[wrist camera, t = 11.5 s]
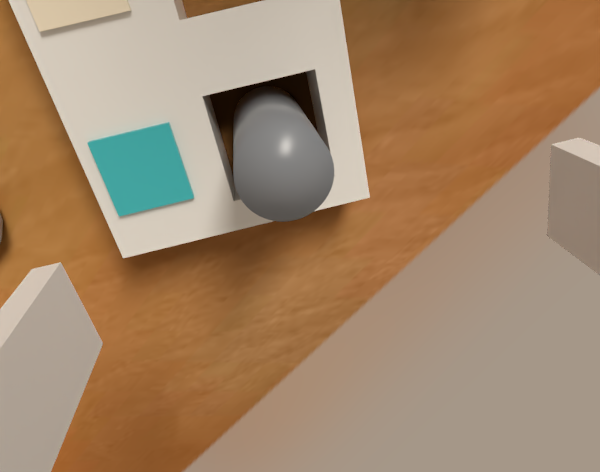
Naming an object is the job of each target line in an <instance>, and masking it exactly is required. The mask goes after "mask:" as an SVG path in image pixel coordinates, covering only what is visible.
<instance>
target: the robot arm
mask: <svg viewBox="0 0 600 472" xmlns="http://www.w3.org/2000/svg"><path fill="white" fill-rule="evenodd" d="M547 236H548V237H549V238H551V239H552V240H553V241H555V242H556V243H558V244H559V245H560V246H562V247H563V248H564V249H565V250H567V251H568V252H570V253H571V254H572V255H574V256H575V257H576V258H578V259H579V260H580V261H582V262H583V263H584V264H586V265H587V266H588V267H590V268H591V269H592V270H594V271H595V272H596V273H598V274H599V275H600V145H597V144H595V143H592V142H589V141H587V140H584V139H582V138H576V139H572V140H568V141H563V142H559V143H555V144H551V158H550V183H549V206H548V229H547ZM102 345H103V342H102V340H101V339H100V337H99V335H98V333H97V331H96V329H95V327H94V325H93V323H92V321H91V319H90V317H89V316H88V314H87V312H86V310H85V308H84V306H83V304H82V302H81V300H80V298H79V296H78V294H77V292H76V291H75V289H74V287H73V285H72V283H71V281H70V279H69V277H68V275H67V273H66V271H65V269H64V268H63V266H62V264H61V262H60V263H56V264H52V265H47V266H43V267H39V268H35V269H32V270H31V271H30V272H29V273H28V275H27V276H26V277H25V279H24V280H23V281H22V282H21V284H20V285H19V286H18V287H17V289H16V290H15V291H14V292H13V294H12V295H11V296H10V297H9V299H8V300H7V301H6V303H5V304H4V305H3V306H2V308H1V309H0V472H51V470H52V468H53V465H54V463H55V460H56V458H57V455H58V453H59V450H60V448H61V446H62V443H63V441H64V438H65V436H66V433H67V431H68V428H69V426H70V423H71V421H72V419H73V416H74V414H75V411H76V409H77V406H78V404H79V401H80V399H81V396H82V394H83V391H84V389H85V387H86V384H87V382H88V379H89V377H90V374H91V372H92V369H93V367H94V364H95V362H96V360H97V357H98V355H99V352H100V350H101V347H102Z"/></svg>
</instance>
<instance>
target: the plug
mask: <svg viewBox="0 0 600 472" xmlns="http://www.w3.org/2000/svg"><path fill="white" fill-rule="evenodd" d="M233 176H234V184H235V188H236V191H237V193H238V195H239V197H240V199H241V200H242V202H243V203H244V204H245V205H246V206H247V208H248V209H250V210H251V211H252V212H253V213H255V214H257V215H258V216H260V217H263V218H265V219H268V220H272V221H281V222H284V221H293V220H297V219H300V218H303V217H305V216H307V215H309V214H310V213H312V212H313V211H315V210H316V209H317V208H318V207H319V206H320V205H321V204H322V203H323V202H324V201H325V199H326V198H327V196H328V194H329V192H330V190H331V188H332V184H333V180H334V163H333V159H332V156H331V153H330V151H329V149H328V148H327V146H326V144H325V143H324V141H323V140H322V139H321V137H320V136H319V134H318V133H317V131H316V130H315V128H314V127H313V125H312V124H311V122H310V121H309V120H308V118H307V117H306V115H305V114H304V112H303V111H302V109H301V108H300V106H299V105H298V103H297V102H296V101H295V99H294V98H293V97H292V96H291V95H290V94H289V93H288V92H286V91H285V90H283V89H281V88H278V87H274V86H261V87H257V88H254V89H252V90H250V91H249V92H247V93H246V94H245V95H244V96H243V97H242V98H241V99H240V101H239V102H238V104H237V106H236V109H235V112H234V121H233Z"/></svg>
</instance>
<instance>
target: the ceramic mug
mask: <svg viewBox="0 0 600 472" xmlns="http://www.w3.org/2000/svg"><path fill="white" fill-rule="evenodd" d="M2 228H3V219H2V217H1V214H0V243H1V240H2Z"/></svg>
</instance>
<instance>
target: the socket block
mask: <svg viewBox="0 0 600 472" xmlns="http://www.w3.org/2000/svg"><path fill="white" fill-rule="evenodd" d="M9 3H10V5H11V7H12V9H13V12H14V14H15V16H16V18H17V21H18V23H19V25H20V27H21V30H22V32H23V34H24V36H25V39H26V41H27V43H28V45H29V48H30V50H31V52H32V54H33V57H34V59H35V61H36V63H37V66H38V68H39V70H40V72H41V75H42V77H43V79H44V81H45V84H46V86H47V88H48V90H49V93H50V95H51V97H52V99H53V102H54V104H55V106H56V108H57V111H58V113H59V115H60V117H61V120H62V122H63V124H64V126H65V129H66V131H67V133H68V135H69V138H70V140H71V142H72V144H73V147H74V149H75V151H76V153H77V156H78V158H79V160H80V162H81V165H82V167H83V169H84V171H85V174H86V176H87V178H88V180H89V183H90V185H91V187H92V189H93V192H94V194H95V196H96V198H97V201H98V203H99V205H100V207H101V210H102V212H103V214H104V216H105V219H106V221H107V223H108V225H109V228H110V230H111V232H112V234H113V237H114V239H115V241H116V243H117V246H118V248H119V250H120V252H121V255H122V257H123V258H127V257H131V256H135V255H139V254H143V253H147V252H151V251H155V250H159V249H163V248H167V247H171V246H176V245H180V244H184V243H188V242H192V241H196V240H200V239H204V238H208V237H212V236H216V235H220V234H224V233H228V232H232V231H236V230H240V229H244V228H248V227H252V226H256V225H261V224H265V223H269V222H273V221H272V220H268V219H265V218H263V217H260V216H258V215H257V214H255V213H253V212H252V211H251V210H250V209H248V208H247V206H246V205H245V204H244V203H243V202H242V200H241V199H240V197H239V195H238V193H237V191H236V188H235V184H234V177H233V174H232V170H231V167H230V163H229V160H228V156H227V153H226V150H225V146H224V143H223V139H222V136H221V132H220V129H219V125H218V122H217V119H216V115H215V112H214V108H213V105H212V101H211V98H210V94H214V93H218V92H222V91H227V90H231V89H235V88H239V87H243V86H247V85H252V84H256V83H260V82H264V81H268V80H272V79H276V78H281V77H285V76H289V75H293V74H297V73H301V72H306V74H307V80H308V85H309V90H310V95H311V100H312V105H313V110H314V116H315V121H316V126H317V131H318V134H319V136H320V137H321V139H322V140H323V141H324V143H325V144H326V146H327V148H328V149H329V151H330V153H331V156H332V159H333V163H334V180H333V184H332V188H331V190H330V192H329V194H328V196H327V198H326V199H325V201H324V202H323V203H322V204H321V205H320V206H319V207H318V208H317V209H316V210H315V211H317V210H321V209H325V208H329V207H333V206H337V205H342V204H346V203H350V202H354V201H358V200H362V199H366V198H370V195H369V189H368V182H367V176H366V169H365V162H364V156H363V149H362V143H361V136H360V130H359V123H358V116H357V110H356V103H355V97H354V90H353V84H352V77H351V70H350V64H349V57H348V51H347V44H346V37H345V31H344V24H343V18H342V11H341V5H340V0H263V1H259V2H254V3H250V4H246V5H242V6H238V7H233V8H229V9H225V10H221V11H216V12H212V13H208V14H204V15H199V16H195V17H191V18H187V16H186V12H185V9H184V5H183V2H182V0H9Z"/></svg>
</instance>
